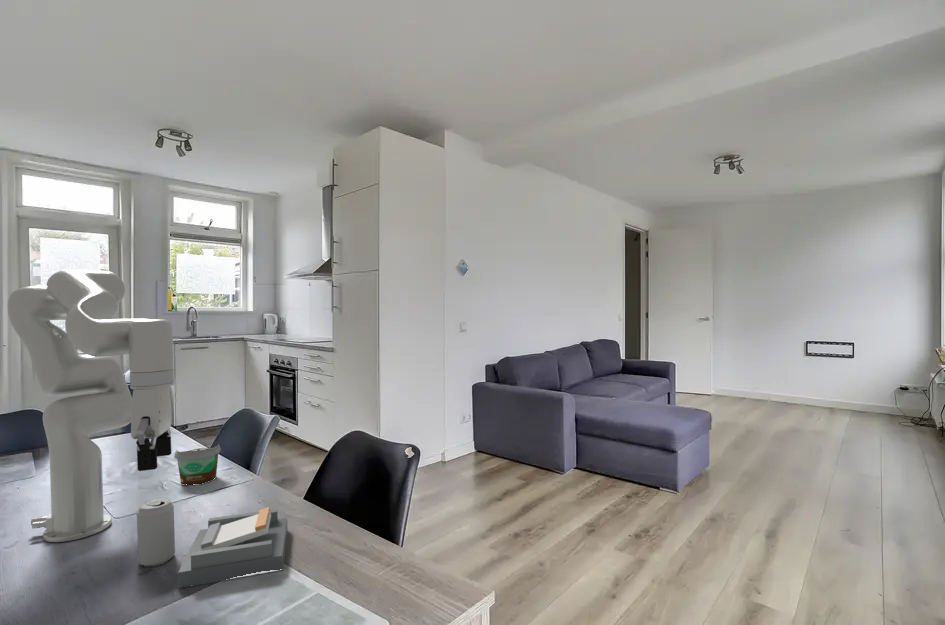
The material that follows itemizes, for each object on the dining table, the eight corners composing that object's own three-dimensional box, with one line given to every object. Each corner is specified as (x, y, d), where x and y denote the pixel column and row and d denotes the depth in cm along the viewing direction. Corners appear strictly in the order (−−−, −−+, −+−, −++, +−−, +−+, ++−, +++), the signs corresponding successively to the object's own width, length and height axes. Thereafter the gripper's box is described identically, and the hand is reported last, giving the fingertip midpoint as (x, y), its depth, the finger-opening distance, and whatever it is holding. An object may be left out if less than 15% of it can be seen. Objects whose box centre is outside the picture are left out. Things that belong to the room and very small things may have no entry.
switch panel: (178, 588, 90) (177, 559, 90) (200, 543, 107) (199, 518, 107) (282, 570, 96) (281, 543, 95) (287, 530, 113) (286, 507, 113)
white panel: (203, 554, 95) (200, 545, 95) (212, 534, 104) (210, 525, 104) (267, 533, 99) (265, 524, 99) (271, 515, 107) (269, 506, 107)
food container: (173, 490, 139) (172, 455, 139) (174, 483, 144) (174, 449, 144) (221, 482, 144) (220, 448, 144) (221, 475, 150) (220, 443, 150)
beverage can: (157, 570, 96) (155, 510, 96) (130, 567, 98) (128, 508, 98) (182, 553, 103) (181, 497, 102) (156, 551, 104) (155, 495, 104)
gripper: (145, 375, 107) (148, 452, 107) (114, 387, 90) (117, 478, 90) (184, 373, 109) (186, 448, 109) (160, 384, 92) (163, 473, 93)
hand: (155, 462), depth 100 cm, fingers open, 9 cm apart
